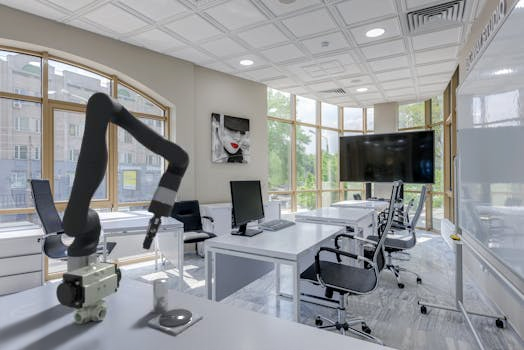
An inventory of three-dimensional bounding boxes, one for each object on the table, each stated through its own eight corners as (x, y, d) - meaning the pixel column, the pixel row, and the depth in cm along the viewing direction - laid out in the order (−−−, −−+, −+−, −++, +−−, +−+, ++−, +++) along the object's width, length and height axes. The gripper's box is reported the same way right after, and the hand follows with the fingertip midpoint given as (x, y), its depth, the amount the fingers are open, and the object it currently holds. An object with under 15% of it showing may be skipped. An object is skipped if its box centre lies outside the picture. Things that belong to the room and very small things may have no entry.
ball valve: (76, 336, 85) (75, 274, 85) (55, 330, 88) (55, 270, 88) (125, 308, 102) (125, 257, 102) (106, 304, 105) (106, 254, 105)
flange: (147, 324, 92) (147, 320, 92) (175, 308, 102) (175, 304, 102) (175, 335, 86) (175, 330, 86) (203, 317, 97) (203, 312, 97)
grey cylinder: (150, 310, 101) (150, 281, 101) (161, 305, 105) (161, 277, 105) (160, 314, 99) (160, 284, 98) (171, 308, 103) (171, 279, 103)
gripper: (151, 199, 110) (134, 242, 106) (152, 197, 96) (133, 246, 93) (171, 205, 112) (155, 248, 108) (175, 204, 99) (157, 253, 95)
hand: (145, 247), depth 100 cm, fingers open, 8 cm apart
